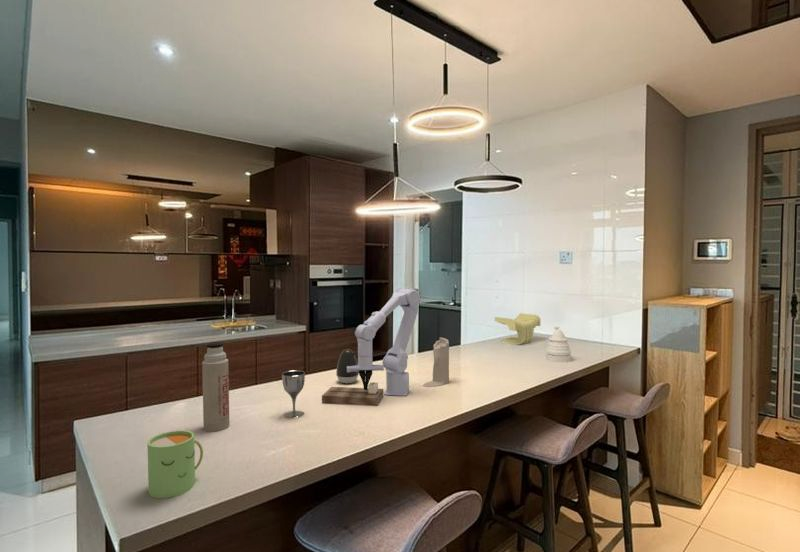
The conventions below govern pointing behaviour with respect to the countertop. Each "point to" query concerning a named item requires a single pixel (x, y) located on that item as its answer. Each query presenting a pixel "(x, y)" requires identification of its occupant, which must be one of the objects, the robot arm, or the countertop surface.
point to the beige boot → (440, 363)
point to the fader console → (351, 396)
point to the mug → (172, 463)
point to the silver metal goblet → (293, 389)
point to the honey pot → (558, 348)
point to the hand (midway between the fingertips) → (365, 389)
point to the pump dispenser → (346, 360)
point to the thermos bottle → (215, 388)
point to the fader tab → (373, 388)
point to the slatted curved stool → (521, 327)
